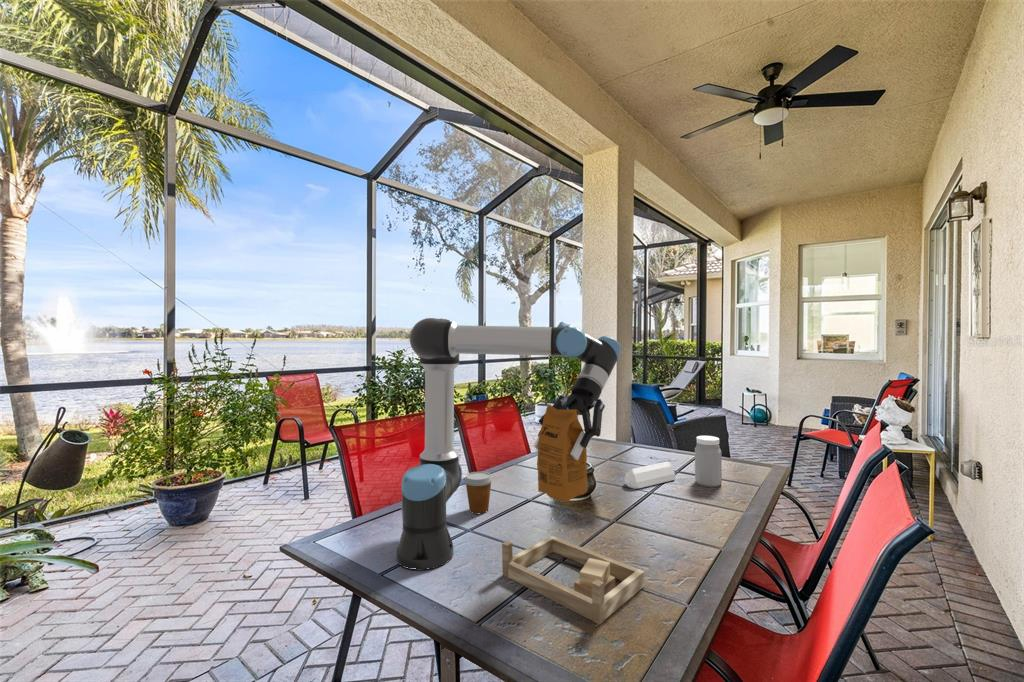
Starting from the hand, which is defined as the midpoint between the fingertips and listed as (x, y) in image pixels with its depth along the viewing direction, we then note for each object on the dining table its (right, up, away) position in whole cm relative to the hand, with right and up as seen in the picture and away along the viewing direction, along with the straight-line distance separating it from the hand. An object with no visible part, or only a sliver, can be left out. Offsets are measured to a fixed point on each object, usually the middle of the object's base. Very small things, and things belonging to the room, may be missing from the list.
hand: (554, 453), depth 113 cm
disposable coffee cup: (-22, -30, +41) cm, 55 cm away
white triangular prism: (+44, -29, +67) cm, 85 cm away
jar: (+66, -28, +64) cm, 96 cm away
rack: (+4, -30, -4) cm, 30 cm away
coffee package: (+2, -11, +2) cm, 11 cm away
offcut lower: (+9, -30, -8) cm, 33 cm away
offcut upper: (+9, -27, -8) cm, 30 cm away
